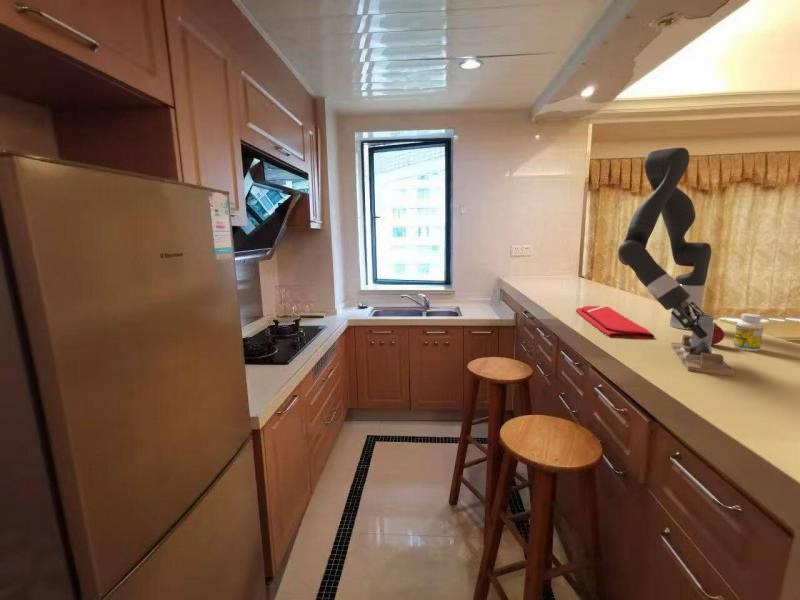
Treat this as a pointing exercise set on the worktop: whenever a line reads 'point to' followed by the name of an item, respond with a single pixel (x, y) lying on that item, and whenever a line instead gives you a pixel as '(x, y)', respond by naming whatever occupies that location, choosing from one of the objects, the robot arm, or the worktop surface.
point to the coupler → (704, 343)
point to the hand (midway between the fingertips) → (708, 334)
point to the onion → (717, 334)
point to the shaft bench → (701, 359)
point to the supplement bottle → (748, 333)
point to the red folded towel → (612, 322)
